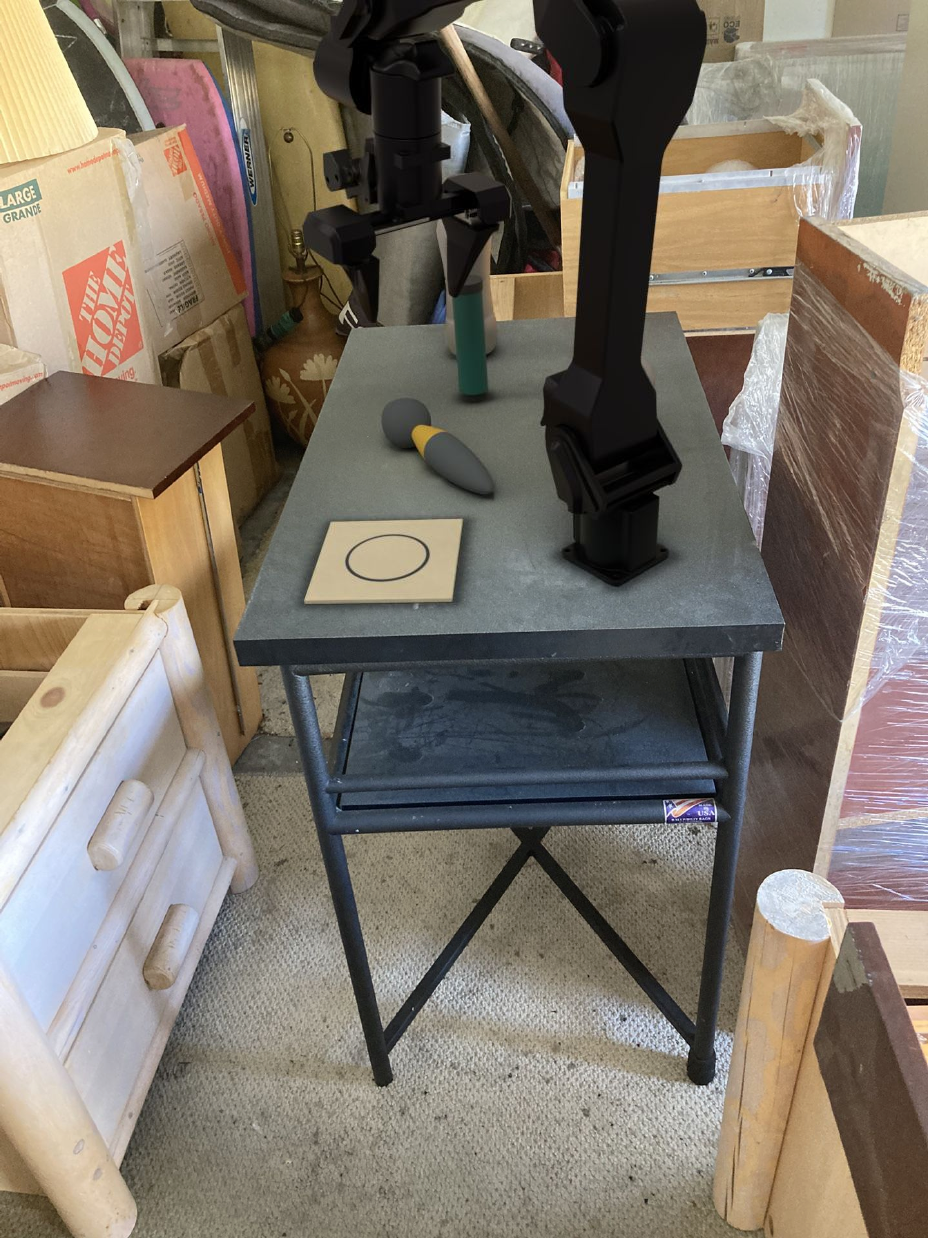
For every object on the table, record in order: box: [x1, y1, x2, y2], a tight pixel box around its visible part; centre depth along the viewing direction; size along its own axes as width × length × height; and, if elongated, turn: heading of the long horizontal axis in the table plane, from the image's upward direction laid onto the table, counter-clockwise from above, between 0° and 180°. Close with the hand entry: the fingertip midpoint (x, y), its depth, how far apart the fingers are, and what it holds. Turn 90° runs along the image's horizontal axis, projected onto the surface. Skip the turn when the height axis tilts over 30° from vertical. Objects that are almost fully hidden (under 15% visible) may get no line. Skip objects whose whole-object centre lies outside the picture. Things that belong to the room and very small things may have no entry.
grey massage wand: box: [380, 397, 495, 495], centre depth 93 cm, size 20×5×5 cm, turn 38°
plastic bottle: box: [435, 173, 499, 356], centre depth 110 cm, size 6×7×20 cm
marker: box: [452, 275, 489, 403], centre depth 102 cm, size 3×3×13 cm
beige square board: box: [303, 518, 464, 605], centre depth 81 cm, size 12×12×1 cm
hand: (413, 308), depth 90 cm, fingers open, 9 cm apart
